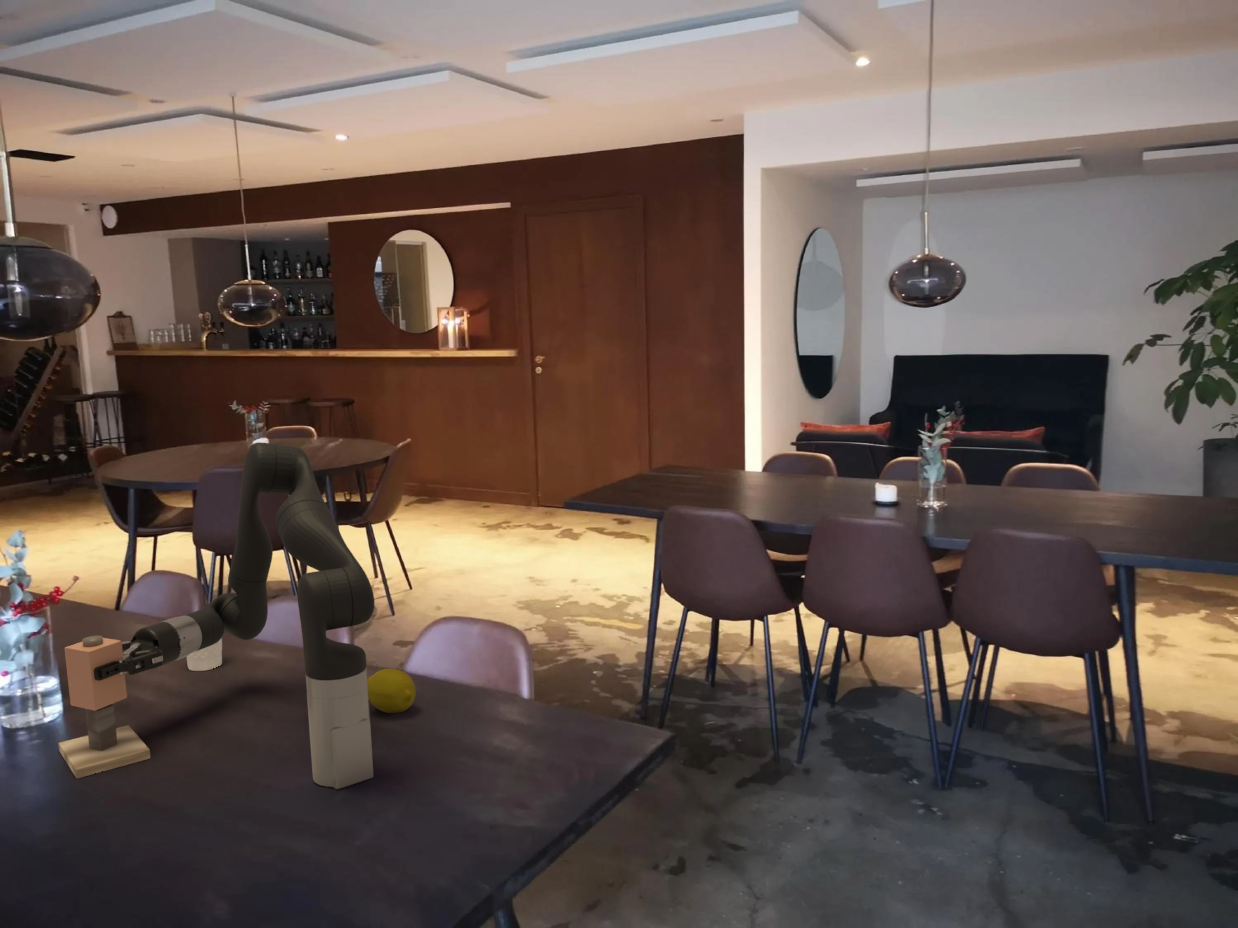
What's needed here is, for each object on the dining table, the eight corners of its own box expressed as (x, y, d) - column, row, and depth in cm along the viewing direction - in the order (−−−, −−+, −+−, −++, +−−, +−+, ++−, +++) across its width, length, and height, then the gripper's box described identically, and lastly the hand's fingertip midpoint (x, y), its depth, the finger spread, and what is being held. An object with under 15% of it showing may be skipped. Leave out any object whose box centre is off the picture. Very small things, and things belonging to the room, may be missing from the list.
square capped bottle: (127, 697, 164) (120, 634, 163) (94, 710, 159) (88, 645, 158) (103, 692, 167) (96, 630, 165) (70, 705, 162) (63, 641, 160)
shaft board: (150, 758, 162) (145, 709, 161) (76, 778, 155) (71, 727, 154) (129, 733, 173) (124, 687, 172) (59, 751, 166) (54, 703, 165)
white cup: (231, 660, 211) (228, 615, 210) (213, 672, 204) (209, 626, 202) (197, 659, 212) (193, 615, 211) (177, 672, 204) (173, 626, 203)
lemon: (426, 711, 179) (424, 670, 178) (390, 724, 174) (388, 682, 173) (392, 697, 187) (390, 657, 186) (357, 710, 181) (354, 668, 180)
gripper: (138, 616, 177) (50, 644, 162) (194, 625, 171) (109, 655, 156) (142, 656, 179) (55, 687, 164) (198, 666, 172) (113, 700, 157)
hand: (82, 671), depth 160 cm, fingers closed on square capped bottle, 6 cm apart
